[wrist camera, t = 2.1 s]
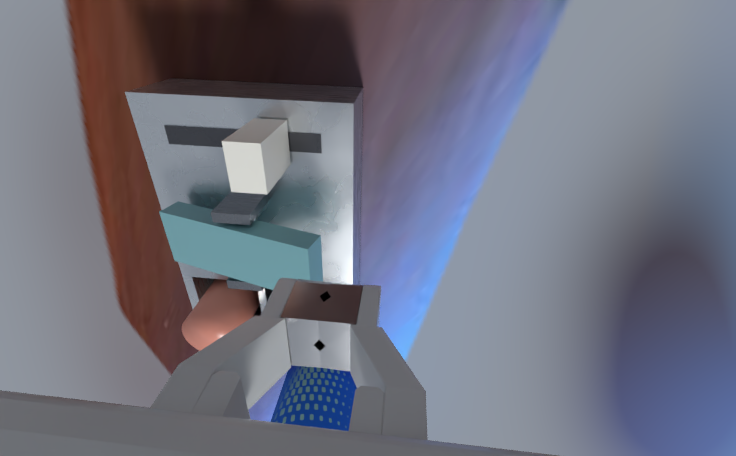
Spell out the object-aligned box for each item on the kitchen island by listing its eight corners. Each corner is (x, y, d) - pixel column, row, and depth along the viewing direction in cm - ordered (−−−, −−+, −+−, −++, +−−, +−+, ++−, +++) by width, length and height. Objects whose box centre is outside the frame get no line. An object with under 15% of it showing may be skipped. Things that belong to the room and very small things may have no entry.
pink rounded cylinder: (213, 263, 32) (175, 312, 26) (262, 267, 31) (233, 318, 26) (222, 300, 34) (189, 352, 29) (268, 305, 34) (242, 358, 28)
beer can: (301, 379, 43) (251, 550, 30) (289, 330, 39) (224, 503, 25) (370, 383, 42) (351, 561, 29) (366, 333, 38) (341, 515, 24)
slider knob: (254, 118, 22) (221, 141, 18) (286, 119, 21) (260, 143, 18) (260, 162, 23) (231, 192, 19) (290, 164, 23) (267, 194, 19)
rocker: (178, 201, 25) (159, 211, 24) (320, 235, 22) (307, 249, 20) (191, 248, 27) (174, 260, 26) (323, 286, 24) (311, 301, 22)
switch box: (171, 78, 26) (81, 104, 19) (363, 87, 25) (344, 119, 18) (226, 303, 38) (183, 372, 30) (359, 315, 37) (346, 390, 29)
